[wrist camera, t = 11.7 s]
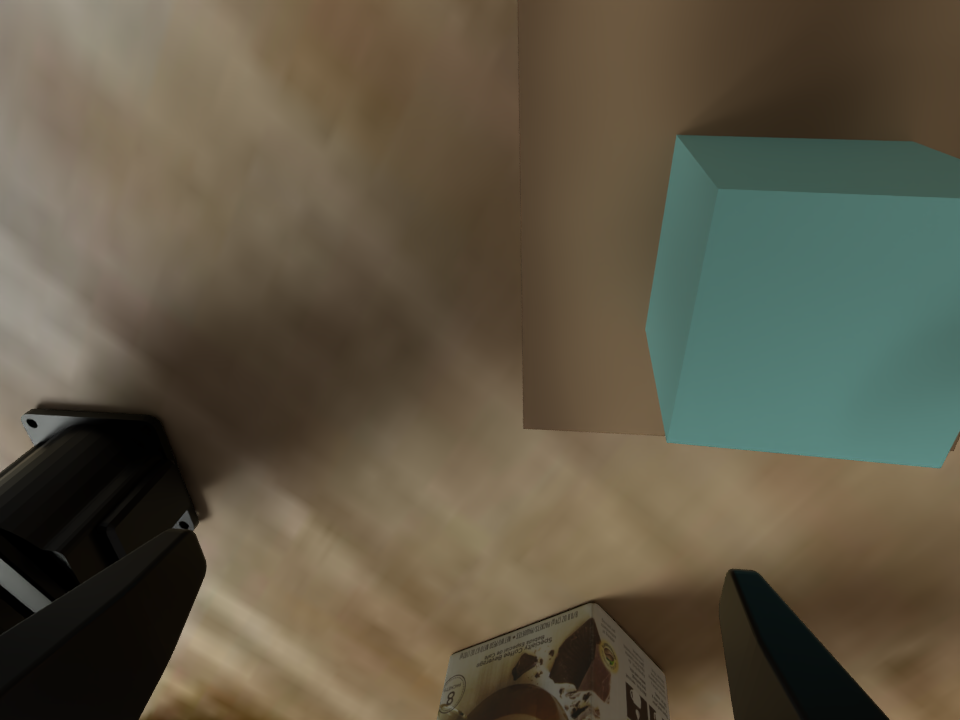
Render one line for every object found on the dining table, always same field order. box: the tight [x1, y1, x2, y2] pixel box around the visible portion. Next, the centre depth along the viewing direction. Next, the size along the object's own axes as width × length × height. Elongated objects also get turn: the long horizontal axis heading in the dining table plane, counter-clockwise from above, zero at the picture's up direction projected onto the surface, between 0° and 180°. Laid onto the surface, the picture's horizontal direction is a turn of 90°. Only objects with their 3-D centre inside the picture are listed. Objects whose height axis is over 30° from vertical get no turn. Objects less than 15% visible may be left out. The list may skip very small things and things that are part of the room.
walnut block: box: [518, 0, 960, 451], centre depth 16 cm, size 12×12×4 cm
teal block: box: [645, 135, 960, 468], centre depth 12 cm, size 5×5×5 cm
